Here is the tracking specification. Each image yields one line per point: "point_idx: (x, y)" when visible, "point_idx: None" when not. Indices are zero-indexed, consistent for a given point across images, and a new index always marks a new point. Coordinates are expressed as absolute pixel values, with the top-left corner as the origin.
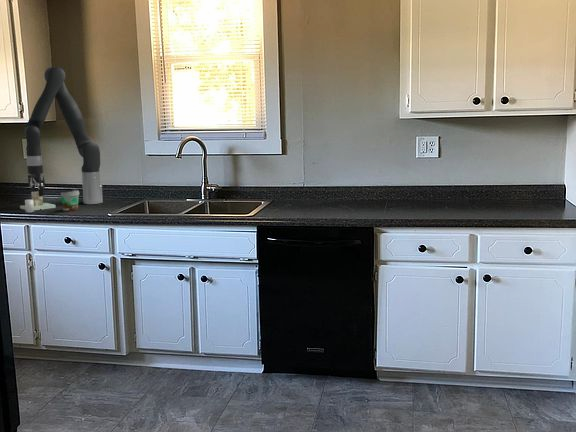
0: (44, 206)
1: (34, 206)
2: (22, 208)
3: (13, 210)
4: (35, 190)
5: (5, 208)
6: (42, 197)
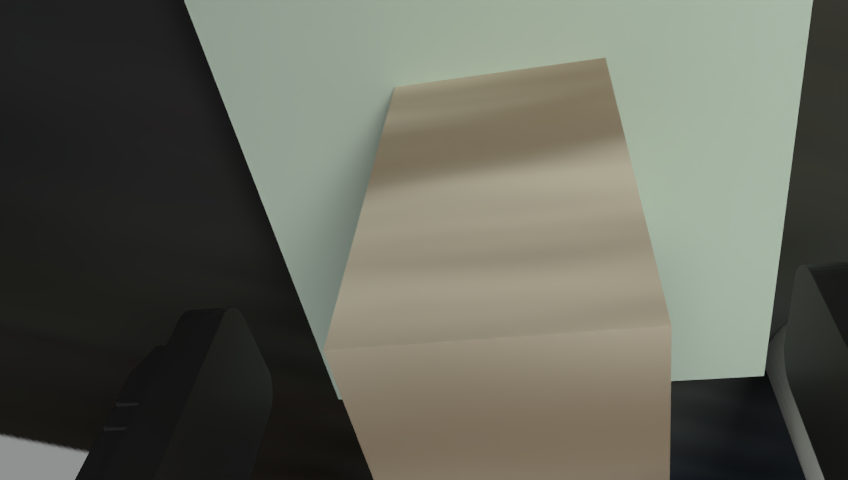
0: (797, 76)
1: None
2: None
3: None
4: (188, 424)
5: None
6: (633, 183)
